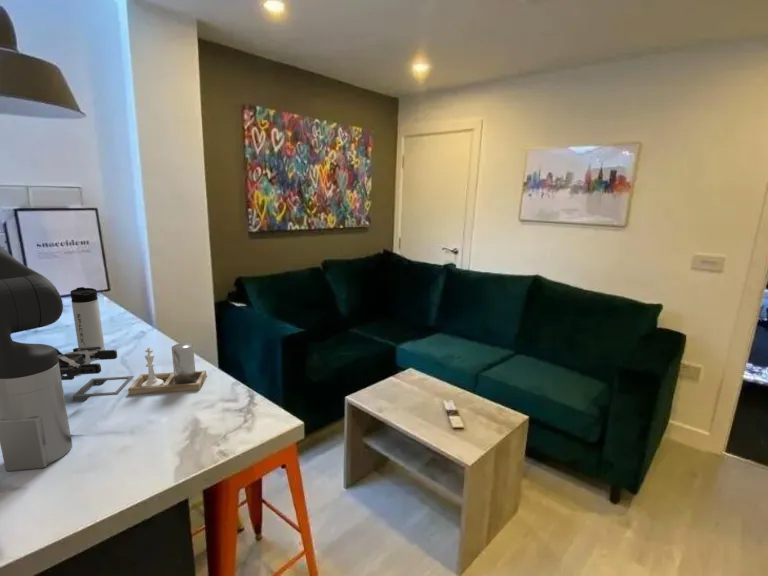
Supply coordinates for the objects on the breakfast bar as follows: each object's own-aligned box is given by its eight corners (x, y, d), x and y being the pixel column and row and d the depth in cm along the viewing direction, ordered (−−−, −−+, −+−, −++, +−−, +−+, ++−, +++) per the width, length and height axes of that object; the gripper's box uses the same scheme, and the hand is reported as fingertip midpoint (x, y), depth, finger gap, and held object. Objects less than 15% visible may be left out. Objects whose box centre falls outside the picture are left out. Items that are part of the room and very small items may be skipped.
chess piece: (153, 391, 99) (149, 352, 96) (136, 389, 100) (131, 350, 97) (168, 382, 103) (164, 345, 101) (151, 380, 104) (147, 343, 102)
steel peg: (193, 387, 101) (190, 349, 99) (172, 388, 100) (168, 350, 98) (198, 379, 106) (195, 342, 103) (178, 380, 105) (174, 343, 103)
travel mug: (100, 348, 127) (92, 285, 123) (108, 353, 123) (99, 289, 119) (76, 353, 123) (66, 288, 118) (83, 359, 119) (73, 292, 114)
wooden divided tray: (200, 394, 100) (199, 384, 99) (128, 398, 97) (126, 389, 96) (207, 379, 108) (207, 370, 107) (141, 383, 105) (140, 374, 104)
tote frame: (118, 397, 97) (117, 393, 97) (72, 401, 95) (71, 396, 95) (133, 380, 106) (133, 376, 106) (92, 382, 104) (92, 378, 104)
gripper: (7, 361, 87) (92, 357, 90) (46, 339, 101) (119, 336, 104) (13, 394, 89) (96, 388, 92) (51, 367, 103) (123, 363, 106)
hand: (108, 361), depth 98 cm, fingers open, 8 cm apart
